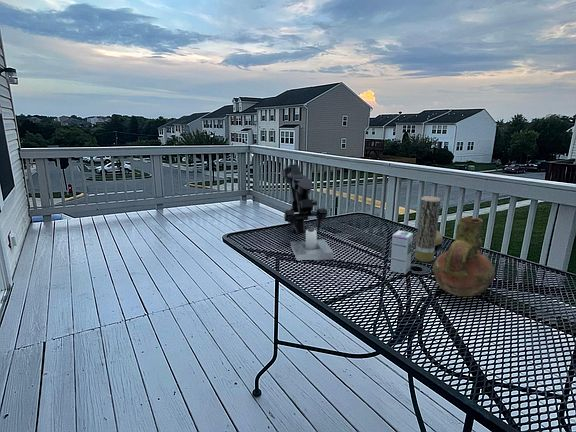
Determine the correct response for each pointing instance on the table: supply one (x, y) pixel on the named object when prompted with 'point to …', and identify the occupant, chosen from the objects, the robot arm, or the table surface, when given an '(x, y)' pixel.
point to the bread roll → (438, 238)
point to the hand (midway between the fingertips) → (308, 232)
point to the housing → (311, 251)
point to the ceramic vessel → (464, 262)
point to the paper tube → (427, 228)
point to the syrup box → (401, 251)
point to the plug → (311, 239)
